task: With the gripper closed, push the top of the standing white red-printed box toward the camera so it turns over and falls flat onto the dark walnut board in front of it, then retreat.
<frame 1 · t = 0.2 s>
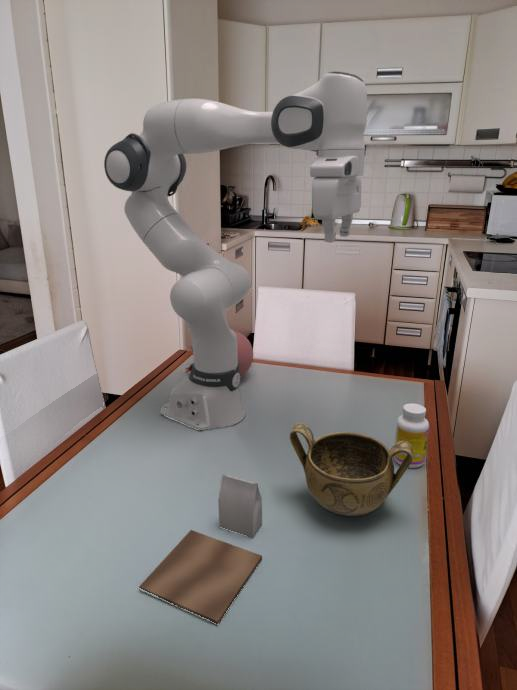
hand: (337, 239, 100), 47 cm above the table, fingers open, 8 cm apart
walnut board: (203, 574, 78), on the table
balloon: (221, 378, 153), on the table
white red-printed box: (240, 527, 89), on the table
supplement bottle: (408, 461, 109), on the table
ceramic bowl: (346, 503, 95), on the table
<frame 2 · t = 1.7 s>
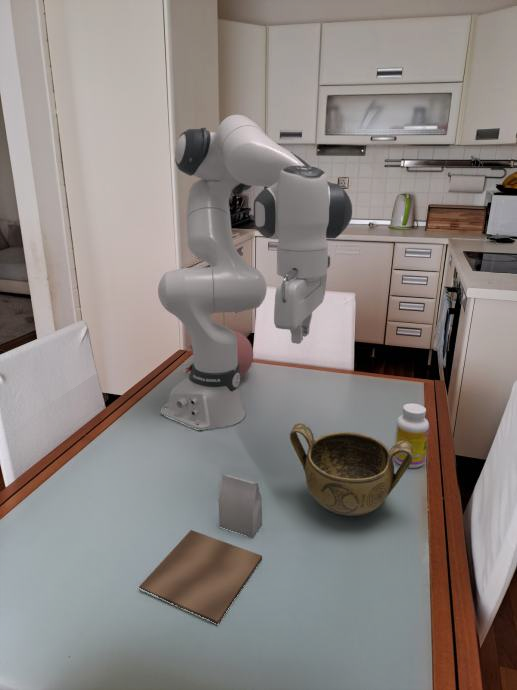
hand: (300, 338, 91), 31 cm above the table, fingers open, 3 cm apart
nothing on the table moved.
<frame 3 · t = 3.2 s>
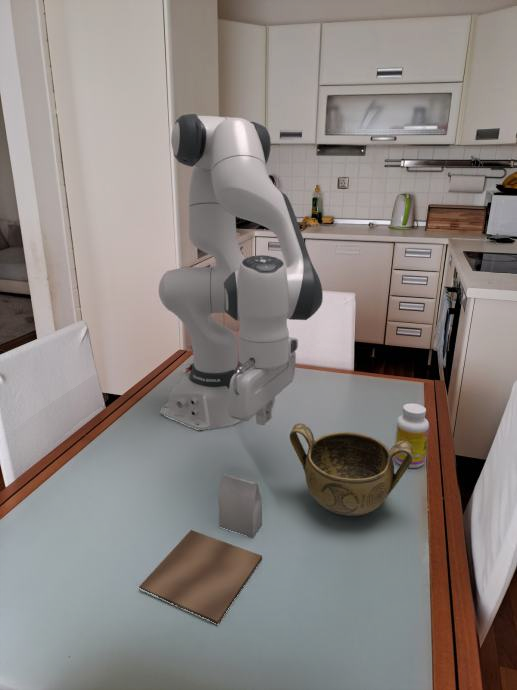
hand: (264, 421, 91), 17 cm above the table, fingers closed
nothing on the table moved.
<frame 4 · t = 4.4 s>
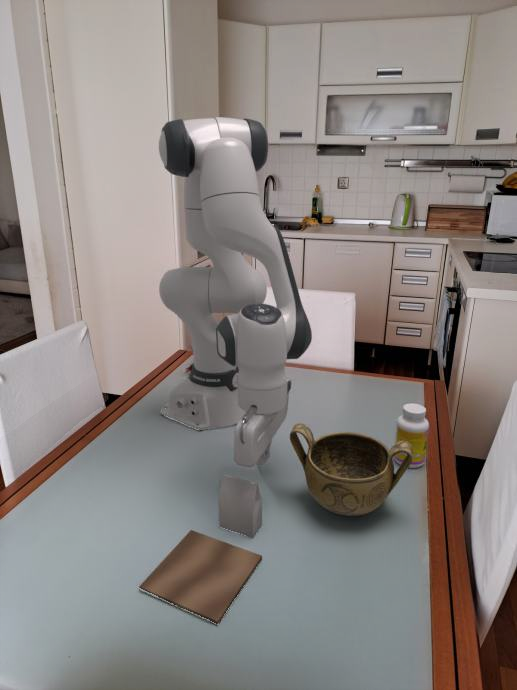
hand: (262, 461, 94), 8 cm above the table, fingers closed
nothing on the table moved.
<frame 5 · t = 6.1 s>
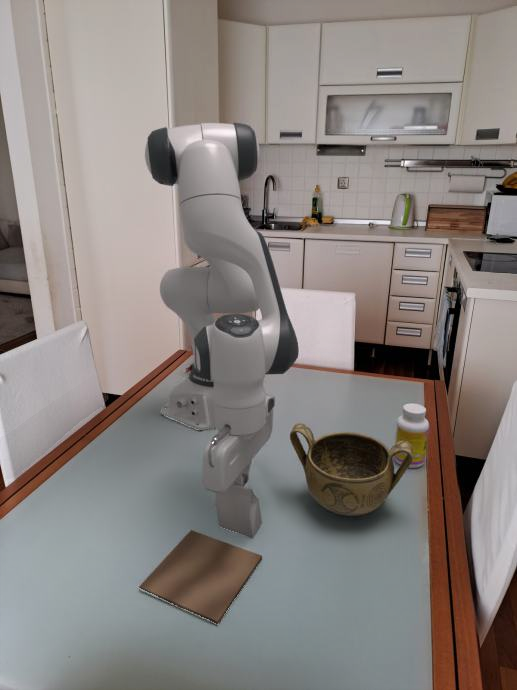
hand: (240, 484, 86), 9 cm above the table, fingers closed
white red-printed box: (240, 525, 89), on the table, touching gripper
everything else where it was.
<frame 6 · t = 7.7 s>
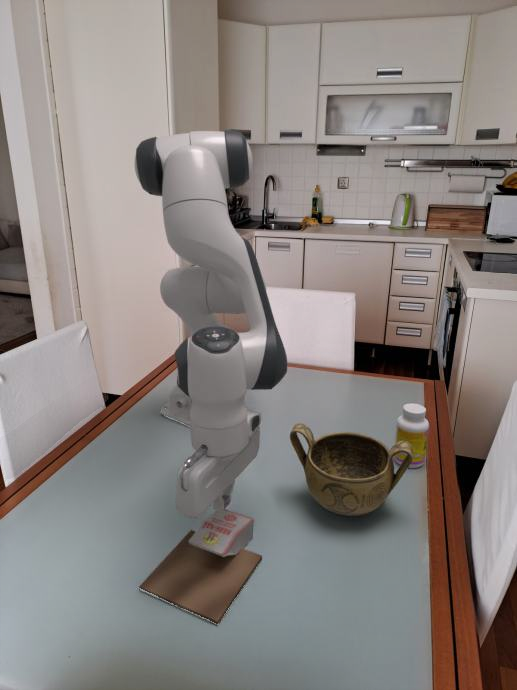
hand: (222, 506, 81), 8 cm above the table, fingers closed
white red-printed box: (237, 522, 87), point 2 cm above the table, touching walnut board
everything else where it was.
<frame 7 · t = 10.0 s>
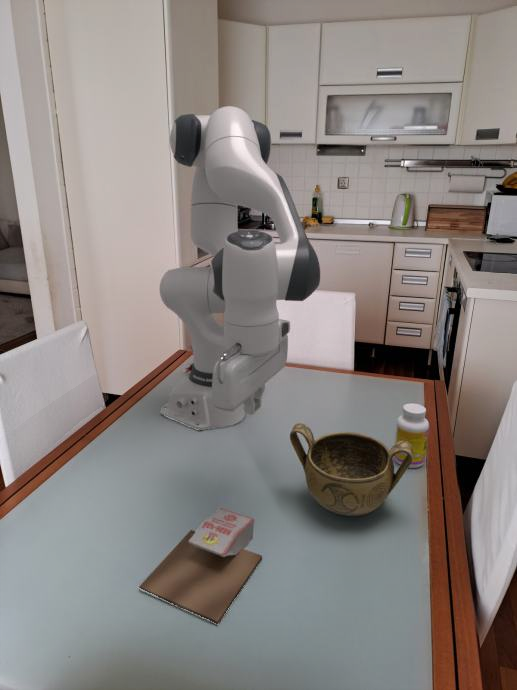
hand: (253, 410, 85), 22 cm above the table, fingers closed
nothing on the table moved.
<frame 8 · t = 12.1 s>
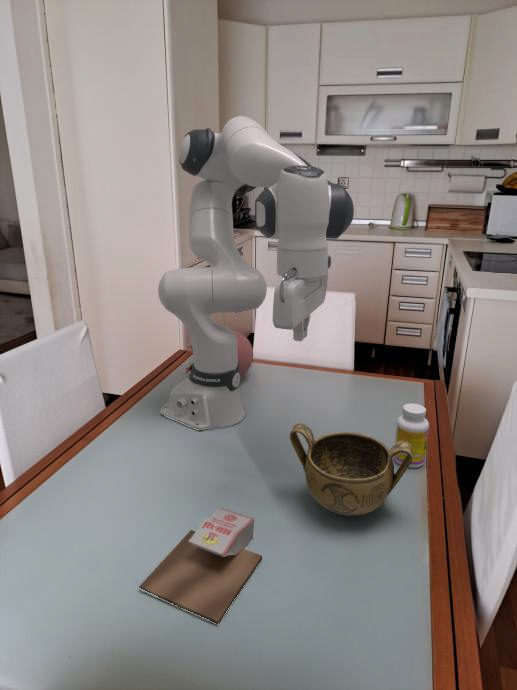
hand: (300, 338, 91), 31 cm above the table, fingers closed
white red-printed box: (237, 522, 87), point 2 cm above the table, touching walnut board
everything else where it was.
at the end: white red-printed box tilted 78°; white red-printed box 11.3 cm from the walnut board (horizontally); the gripper is holding nothing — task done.
